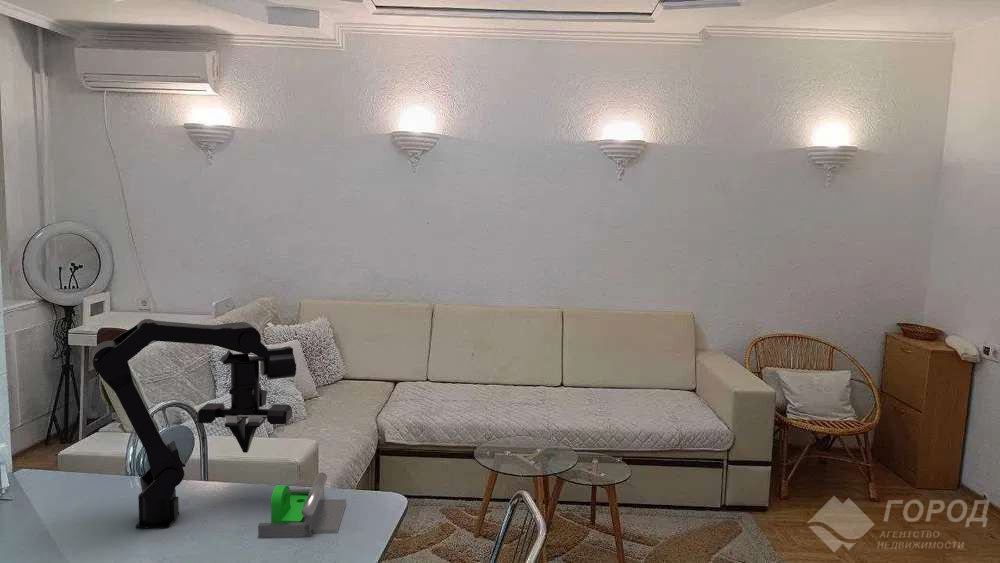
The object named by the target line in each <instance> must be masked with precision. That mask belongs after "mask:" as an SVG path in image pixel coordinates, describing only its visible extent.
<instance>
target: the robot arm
mask: <svg viewBox="0 0 1000 563" xmlns="http://www.w3.org/2000/svg"><path fill="white" fill-rule="evenodd" d="M152 342H162V343H163V342H164V343H179V344H181V343H182V344H196V345H208V346H209V345H211V346H216V347H219V348H222V349H225V350H227V352H226V353H225V354H224V355H223V356H221V357H220V359H219V360H220V361H221V363H222V364H223V365H230V389H229V390H228V391H229V393H228V394H229V395H230V407H229V408H227V407H225V404H224V403H217V402H216V403H215V402H214V403H213V402H212V403H210V402H208V403H206V404H205V405H204V406H202V407H201V408H200V409H198V410H197V413H196V423H198V424H212V423H213V422H214V421H215V420H216V418H225V424H224V428H229V430H230V432H231V433H232V434H233V436H234V437H235V439H236V441H237V443H238V445H239V447H240V449H241V450H242V452H243V453H244V454H247V453H249V451H250V447H251V445H252V443H253V442H252V441H253V439H254V436H255V434H256V433H255V432H256V431H257V429H258V428H260V427H261V426H262V425H263V424H264V423H265V421H267V422H268V423H269V424H270V425H286V424H287V423H289V421H290V420H291V418H292V417H293V407H292V406H291V405H290V404H278V403H275V404H273V405H272V406H271V407H270V408H262V407H263V406H266V405H267V396H268V395H267V394H268V390H265V389H262V383H260V375H261V376H263V377H264V376H265V377H266V379H267V380H269V381H270V380H278V379H286V378H295V376H296V374H297V363H296V359H295V354H294V348H293V347H292V346H289V345H288V346H283V347H276V348H268V347H267V346H266V345H265V344H264V343H262V336H261V333H260V332H259V330H258V329H257V328H255V326H253V325H252V324H250V323H248V322H246V321H241V322H238V321H237V322H228V323H222V324H200V323H187V322H179V321H178V322H175V321H166V320H165V321H164V320H154V319H151V318H144V319H141V321H139V322H138V323H137V324H136V325H134V326H133V327H131V328H129V329H127V330H126V331H124V332H122V333H120V334H119V335H117V336H116V337H115V338H113V339H112V340H105V341H102V342H101V343H99V344H97V345H96V346H95V347H94V349H93V351H92V364H93V368H94V370H95V371H96V373H97V374H99V377H101V379H102V380H103V382H105V383H106V385H107V386H109V388H110V389H111V390H113V391H112V392H114V393H115V395H116V396H117V399H118V401H119V402H120V405H121V406H122V408H123V410H124V412H125V414H126V416H127V417H128V419H129V422H130V423H131V426H132V427H133V430H134V431H135V434H136V435H137V437H138V440H139V442H140V443H141V445H142V447H143V449H144V451H145V453H146V457H147V458H146V459H147V462H148V464H149V468H148V469H147V470H146V471H145V472H144V473H143V474H142V476H141V477H140V478H139V483H140V488H141V492H140V493H139V494H138V499H137V500H138V522H137V523H136V524H135V529H162V528H163V529H164V528H166V529H167V528H169V527H171V525H172V524H173V523H174V521H175V520H176V519H177V518H178V516H179V515H180V509H179V505H180V504H179V496H176V494H177V492H176V487H177V486H179V485H180V484H181V483H182V482H183V480H184V478H185V471H184V468H185V467H186V466H187V465H186V462H185V459H184V456H183V454H182V453H180V452H179V450H178V446H177V444H176V442H175V441H176V440H172V441H171V442H169V443H168V442H166V440H165V439H164V438H163V436H162V434H161V432H160V431H159V428H158V426H157V425H156V422H155V421H154V418H153V417H152V415H151V413H150V411H149V409H148V407H147V405H146V402H144V399H143V397H142V395H141V393H140V391H139V389H138V387H137V385H136V383H135V381H134V378H133V375H132V372H131V367H130V364H129V361H131V359H133V358H134V357H135V356H137V355H138V354H140V352H141V351H143V349H145V347H146V346H148V345H149V344H151V343H152ZM233 352H235V353H233ZM236 352H237V353H236ZM249 354H253V356H252V355H251V356H250V355H249ZM260 373H261V374H260ZM247 420H248V422H247Z"/></svg>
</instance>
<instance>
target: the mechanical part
mask: <svg viewBox="0 0 1000 563" xmlns="http://www.w3.org/2000/svg"><path fill="white" fill-rule="evenodd" d="M290 490H291V489H290V487H289V485H280V484H278V485H275V487H274V489H273V491H272V494H271V498H270V523H291V522H305V517H304V516H303V515H302V509H303V506H304V504H305V502H306V500H307V497H308V496H301V495H291V496H290Z"/></svg>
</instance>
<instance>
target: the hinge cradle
mask: <svg viewBox="0 0 1000 563" xmlns="http://www.w3.org/2000/svg"><path fill="white" fill-rule="evenodd" d="M327 480H328V475H327V474H326V473H324V472H319V473H318V474H317V475H316V476H315V479H314V481H313V484H312V486H311V488H310V489H309V488H307V489H305V488H304V489H301V488H300V489H298V488H297V489H290V496H291V495H301V496H308V497H307V500H306V502H305V504H304V506H303V509H302V515H303V516H304V517H305V522H291V523H271V522H259V523H258V525H257V530H258V531H257V533H258V539H260V538H262V539H264V538H265V539H267V538H312V534H334V533H335V534H338V533H339V528H340V526H341V522H342V519H343V515H344V511H345V509H346V505H347V499H346V498H345V499H344V498H343V499H339V498H338V499H337V498H336V499H333V498H332V499H325V495H326V494H325V488H326V487H325V486H326V483H327Z"/></svg>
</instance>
